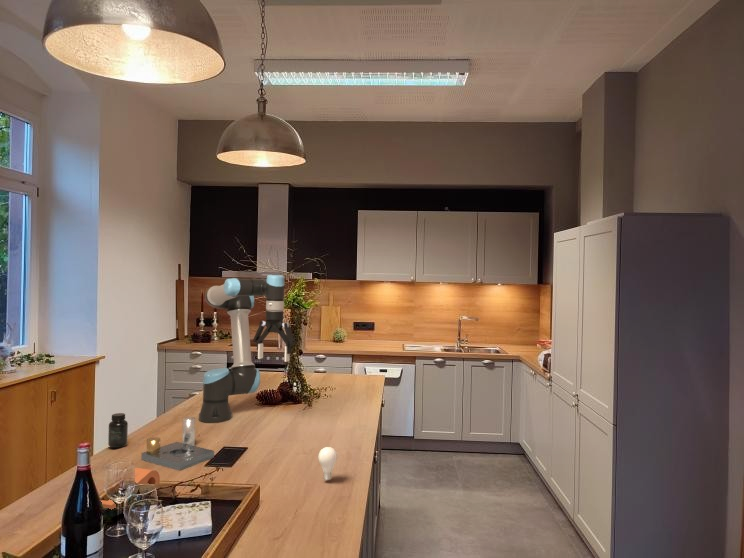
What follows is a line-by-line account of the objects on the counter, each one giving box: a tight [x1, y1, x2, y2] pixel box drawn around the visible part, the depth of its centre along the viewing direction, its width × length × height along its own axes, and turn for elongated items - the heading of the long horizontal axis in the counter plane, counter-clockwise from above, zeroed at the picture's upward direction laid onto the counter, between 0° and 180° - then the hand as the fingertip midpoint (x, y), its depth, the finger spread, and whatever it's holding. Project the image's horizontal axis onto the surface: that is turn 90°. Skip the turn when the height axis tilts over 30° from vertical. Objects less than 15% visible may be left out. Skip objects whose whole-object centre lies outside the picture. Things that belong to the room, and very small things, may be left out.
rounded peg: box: [181, 416, 196, 446], centre depth 209 cm, size 5×5×11 cm
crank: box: [100, 467, 161, 510], centre depth 157 cm, size 20×8×8 cm, turn 164°
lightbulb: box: [317, 446, 338, 482], centre depth 177 cm, size 6×6×11 cm
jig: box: [141, 436, 215, 472], centre depth 195 cm, size 20×16×7 cm
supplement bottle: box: [107, 412, 129, 448], centre depth 209 cm, size 7×7×12 cm
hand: (273, 359), depth 227 cm, fingers open, 13 cm apart
